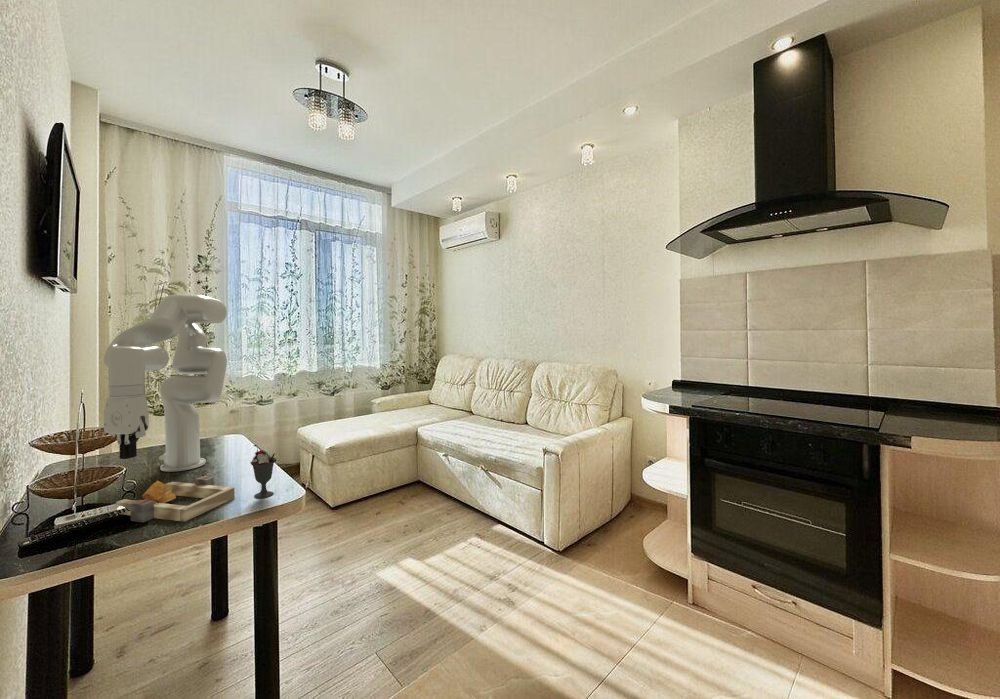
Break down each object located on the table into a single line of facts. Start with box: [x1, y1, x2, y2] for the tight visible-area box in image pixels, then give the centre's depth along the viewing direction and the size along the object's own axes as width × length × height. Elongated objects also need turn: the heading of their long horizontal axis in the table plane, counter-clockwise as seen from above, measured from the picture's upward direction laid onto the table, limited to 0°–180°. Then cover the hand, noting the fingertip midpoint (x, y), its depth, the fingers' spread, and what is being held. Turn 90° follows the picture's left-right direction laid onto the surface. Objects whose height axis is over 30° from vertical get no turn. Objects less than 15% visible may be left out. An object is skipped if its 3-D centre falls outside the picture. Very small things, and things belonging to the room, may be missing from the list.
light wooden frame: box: [115, 475, 235, 523], centre depth 113 cm, size 22×20×5 cm
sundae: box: [249, 444, 277, 499], centre depth 120 cm, size 7×7×15 cm
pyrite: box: [141, 480, 177, 504], centre depth 115 cm, size 5×7×4 cm
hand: (128, 457), depth 115 cm, fingers closed
